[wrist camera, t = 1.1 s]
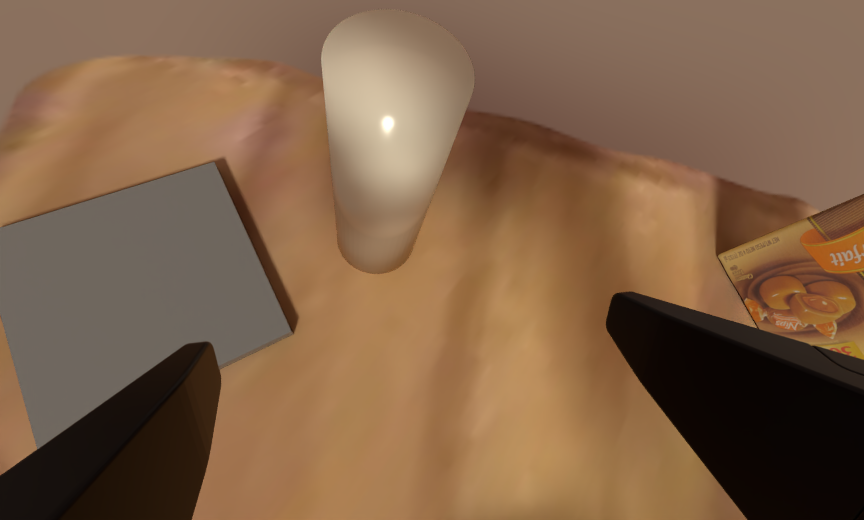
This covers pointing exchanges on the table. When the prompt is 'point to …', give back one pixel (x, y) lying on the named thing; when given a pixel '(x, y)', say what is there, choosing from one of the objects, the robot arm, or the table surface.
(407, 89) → the frosted tapered cylinder
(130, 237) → the slate coaster
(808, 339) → the candy box
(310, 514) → the table surface
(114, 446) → the robot arm
